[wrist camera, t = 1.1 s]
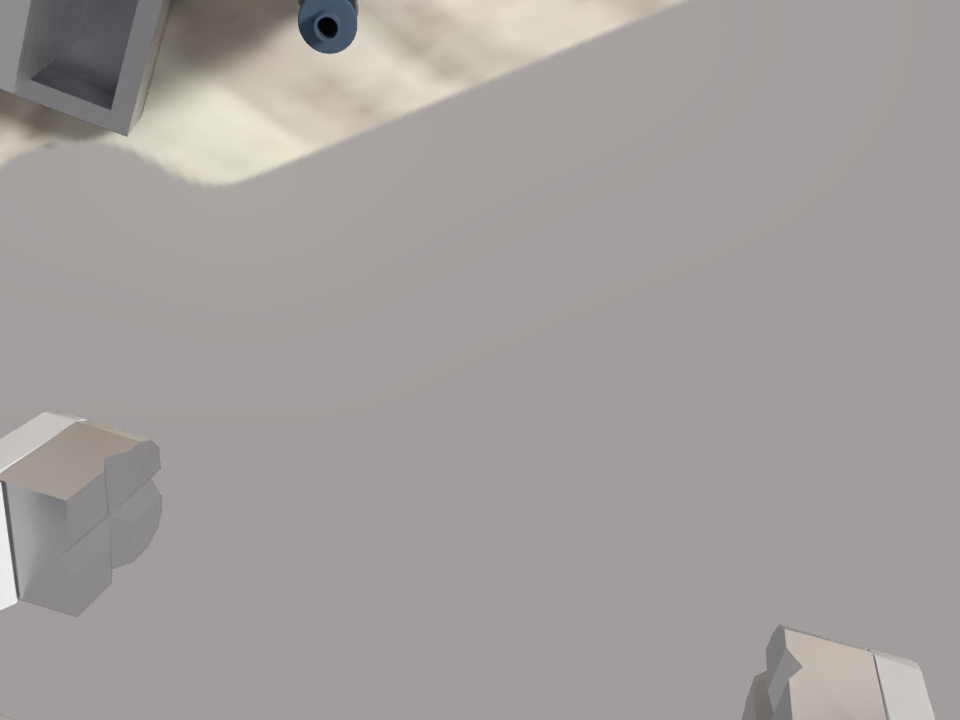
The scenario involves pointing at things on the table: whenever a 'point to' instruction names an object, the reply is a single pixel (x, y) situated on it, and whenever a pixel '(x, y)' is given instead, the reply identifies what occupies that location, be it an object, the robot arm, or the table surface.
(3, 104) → the table surface
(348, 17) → the vaping device
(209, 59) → the table surface
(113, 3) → the double square tray
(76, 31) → the block
